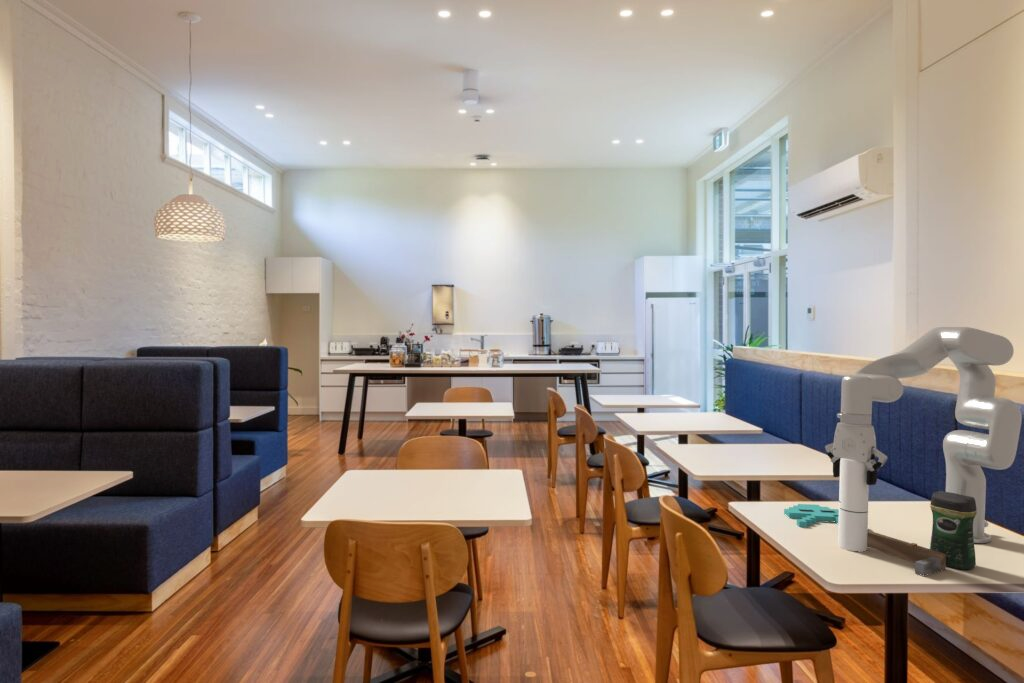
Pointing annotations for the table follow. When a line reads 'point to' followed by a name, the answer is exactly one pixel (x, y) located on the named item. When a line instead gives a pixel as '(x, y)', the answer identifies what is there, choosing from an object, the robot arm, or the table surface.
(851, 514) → the cylindrical container
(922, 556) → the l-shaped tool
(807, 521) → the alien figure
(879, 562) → the table surface
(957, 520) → the coffee jar
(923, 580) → the table surface
